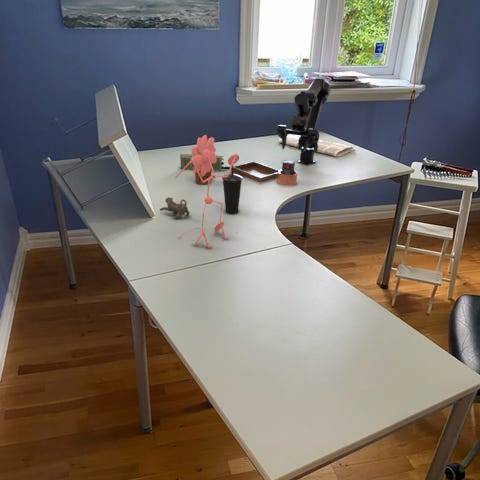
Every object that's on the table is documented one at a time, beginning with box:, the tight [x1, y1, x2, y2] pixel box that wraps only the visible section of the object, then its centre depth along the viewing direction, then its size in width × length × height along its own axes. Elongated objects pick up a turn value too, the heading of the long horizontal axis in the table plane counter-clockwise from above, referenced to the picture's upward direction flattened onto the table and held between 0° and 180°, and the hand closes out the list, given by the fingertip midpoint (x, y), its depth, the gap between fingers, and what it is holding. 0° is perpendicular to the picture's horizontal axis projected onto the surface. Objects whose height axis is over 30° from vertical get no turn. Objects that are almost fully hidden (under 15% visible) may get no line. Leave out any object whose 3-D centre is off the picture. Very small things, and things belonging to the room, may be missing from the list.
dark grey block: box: [281, 160, 296, 175], centre depth 216 cm, size 3×5×9 cm, turn 68°
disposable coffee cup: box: [192, 155, 212, 185], centre depth 215 cm, size 10×10×12 cm
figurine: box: [174, 134, 240, 249], centre depth 162 cm, size 15×26×35 cm, turn 142°
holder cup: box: [277, 169, 298, 186], centre depth 218 cm, size 8×8×5 cm
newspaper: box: [277, 134, 355, 157], centre depth 266 cm, size 37×19×3 cm, turn 50°
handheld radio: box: [179, 153, 230, 172], centre depth 230 cm, size 7×3×25 cm
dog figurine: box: [159, 197, 190, 220], centre depth 186 cm, size 12×6×7 cm, turn 53°
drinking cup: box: [221, 165, 243, 215], centre depth 186 cm, size 8×8×20 cm
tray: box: [233, 160, 281, 184], centre depth 227 cm, size 14×19×3 cm
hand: (292, 150), depth 216 cm, fingers open, 9 cm apart
